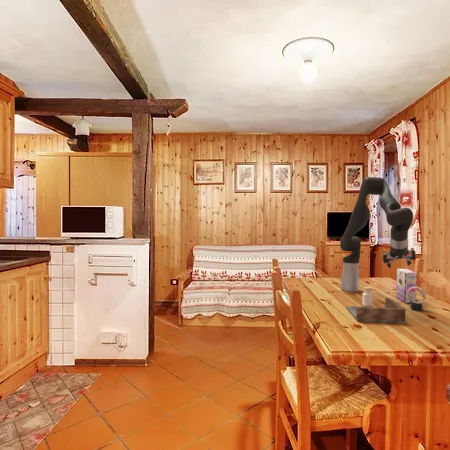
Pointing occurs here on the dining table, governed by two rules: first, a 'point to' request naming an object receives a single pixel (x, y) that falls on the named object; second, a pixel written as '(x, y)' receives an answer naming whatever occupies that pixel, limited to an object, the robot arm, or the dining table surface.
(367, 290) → the pepper shaker
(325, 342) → the dining table surface
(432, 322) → the dining table surface
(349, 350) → the dining table surface
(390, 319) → the corner wooden bin
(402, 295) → the candy box
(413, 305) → the watch
